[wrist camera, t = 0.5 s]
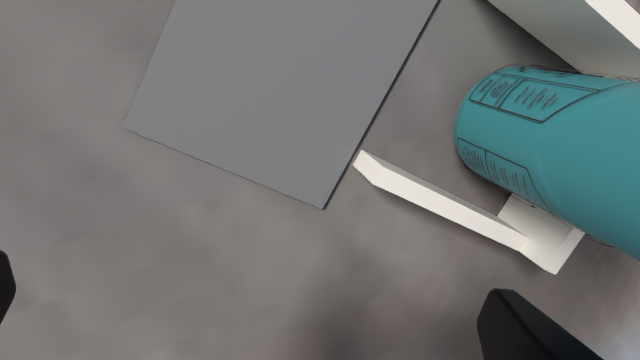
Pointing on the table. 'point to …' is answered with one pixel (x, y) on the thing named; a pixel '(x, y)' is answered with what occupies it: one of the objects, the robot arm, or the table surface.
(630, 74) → the open-sided box
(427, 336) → the table surface
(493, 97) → the beverage bottle
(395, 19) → the mat
